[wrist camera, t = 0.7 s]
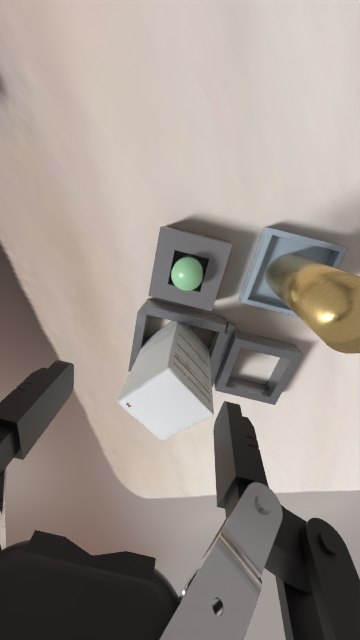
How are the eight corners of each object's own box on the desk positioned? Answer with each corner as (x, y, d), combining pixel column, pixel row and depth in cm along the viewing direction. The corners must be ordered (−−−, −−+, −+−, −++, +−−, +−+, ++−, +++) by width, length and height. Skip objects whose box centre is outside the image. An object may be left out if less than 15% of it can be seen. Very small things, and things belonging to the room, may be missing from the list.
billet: (275, 249, 26) (345, 275, 13) (315, 259, 26) (423, 295, 13) (259, 288, 28) (307, 343, 15) (296, 297, 28) (375, 360, 16)
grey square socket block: (165, 225, 27) (160, 226, 23) (228, 241, 27) (232, 244, 23) (154, 287, 30) (148, 295, 27) (210, 301, 30) (211, 311, 27)
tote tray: (264, 227, 26) (269, 227, 24) (338, 245, 26) (348, 247, 24) (238, 297, 29) (241, 302, 28) (303, 313, 30) (309, 319, 28)
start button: (177, 252, 25) (174, 255, 23) (205, 259, 25) (206, 263, 23) (171, 279, 27) (168, 286, 24) (198, 286, 27) (198, 293, 24)
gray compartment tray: (143, 297, 31) (139, 303, 28) (300, 336, 31) (308, 345, 29) (132, 367, 36) (127, 377, 34) (266, 399, 36) (270, 411, 34)
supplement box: (174, 372, 36) (161, 443, 24) (143, 340, 34) (113, 401, 22) (210, 349, 33) (216, 416, 22) (180, 313, 31) (168, 367, 20)
